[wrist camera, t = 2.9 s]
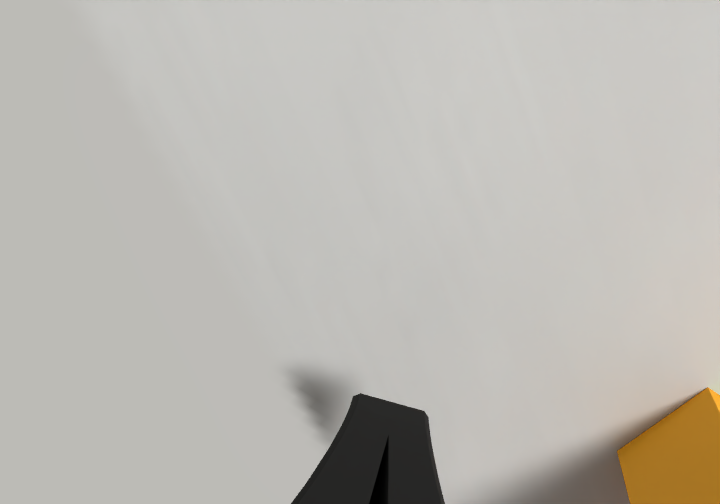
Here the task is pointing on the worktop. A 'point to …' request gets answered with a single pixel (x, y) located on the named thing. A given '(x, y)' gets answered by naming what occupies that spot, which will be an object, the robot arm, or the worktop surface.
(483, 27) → the worktop surface
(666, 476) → the notched yellow bracket
